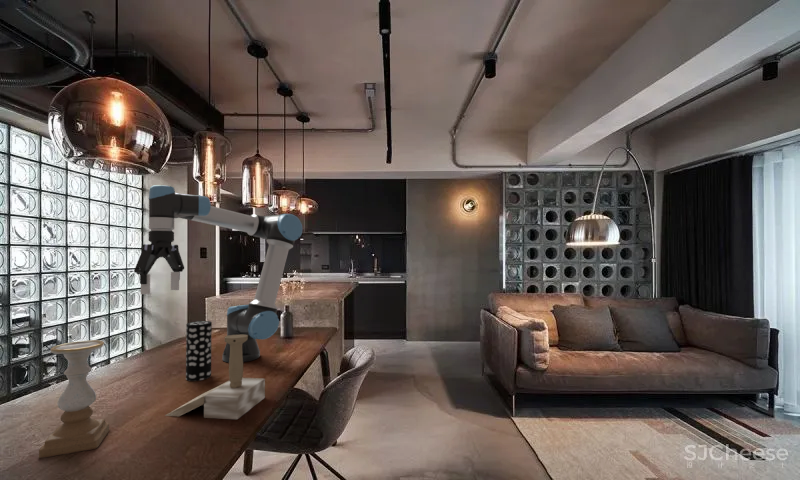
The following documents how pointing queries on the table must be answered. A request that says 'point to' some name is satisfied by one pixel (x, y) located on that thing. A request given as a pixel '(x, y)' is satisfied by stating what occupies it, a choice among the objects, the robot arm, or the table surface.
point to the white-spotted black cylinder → (198, 350)
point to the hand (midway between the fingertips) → (160, 292)
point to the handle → (236, 359)
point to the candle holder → (76, 405)
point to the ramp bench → (227, 400)
